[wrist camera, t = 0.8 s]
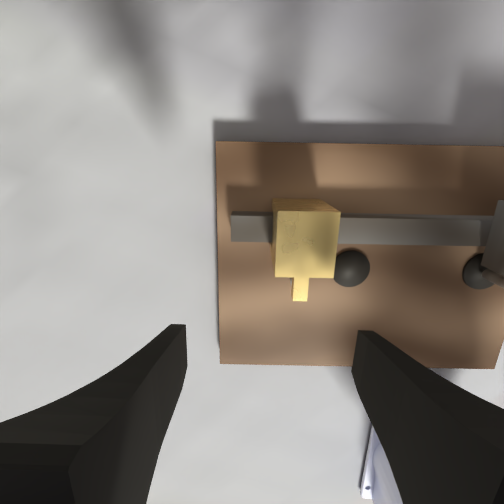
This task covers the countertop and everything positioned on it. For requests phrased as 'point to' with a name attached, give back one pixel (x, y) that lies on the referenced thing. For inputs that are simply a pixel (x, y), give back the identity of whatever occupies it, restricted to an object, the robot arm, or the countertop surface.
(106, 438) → the robot arm
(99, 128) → the countertop surface
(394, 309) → the board
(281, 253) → the leg
